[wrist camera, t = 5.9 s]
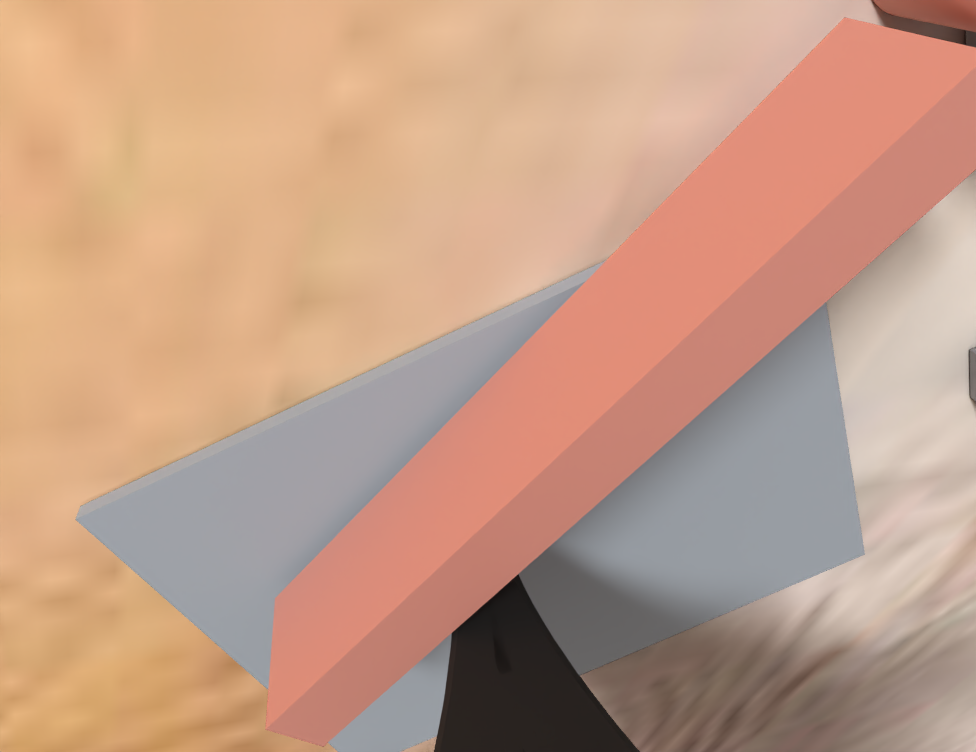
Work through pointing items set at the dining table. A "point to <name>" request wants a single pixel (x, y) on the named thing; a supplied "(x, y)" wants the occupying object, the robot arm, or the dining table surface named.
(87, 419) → the dining table surface
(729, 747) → the dining table surface
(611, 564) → the slate mat
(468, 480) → the pink flat bar
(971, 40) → the bracket
